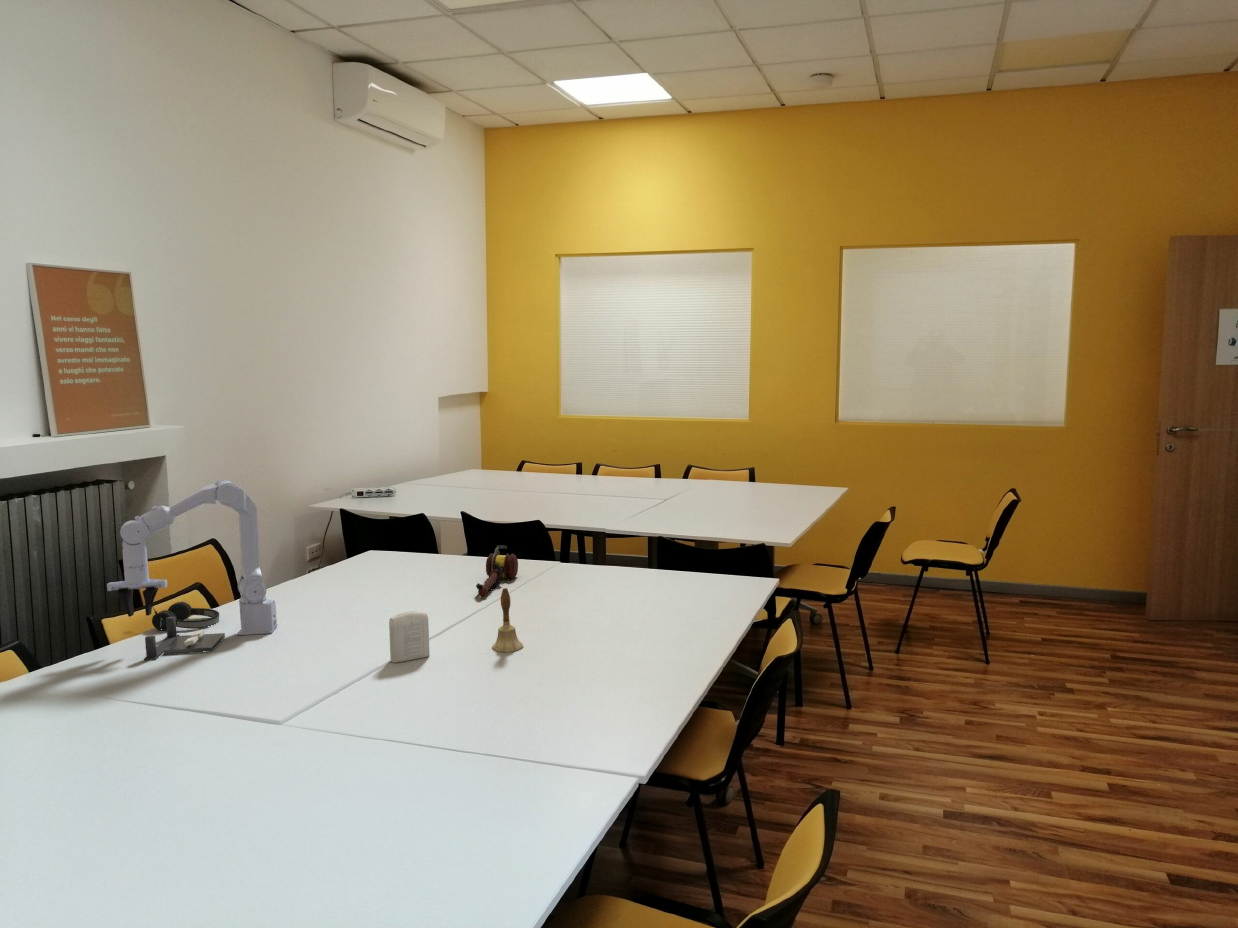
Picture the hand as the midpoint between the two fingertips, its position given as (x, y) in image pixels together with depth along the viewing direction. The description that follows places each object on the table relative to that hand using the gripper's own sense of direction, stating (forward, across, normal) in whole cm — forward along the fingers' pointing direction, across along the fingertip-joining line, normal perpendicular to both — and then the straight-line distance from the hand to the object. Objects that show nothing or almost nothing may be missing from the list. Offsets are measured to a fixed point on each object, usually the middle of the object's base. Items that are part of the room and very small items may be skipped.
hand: (139, 615), depth 248 cm
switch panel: (+9, +14, 0) cm, 16 cm away
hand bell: (+10, +98, -19) cm, 100 cm away
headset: (+10, +4, +23) cm, 25 cm away
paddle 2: (+7, +14, +3) cm, 16 cm away
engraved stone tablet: (+10, +72, -23) cm, 77 cm away
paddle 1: (+7, +14, -3) cm, 16 cm away
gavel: (+10, +95, +48) cm, 107 cm away
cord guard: (+10, +5, 0) cm, 11 cm away
